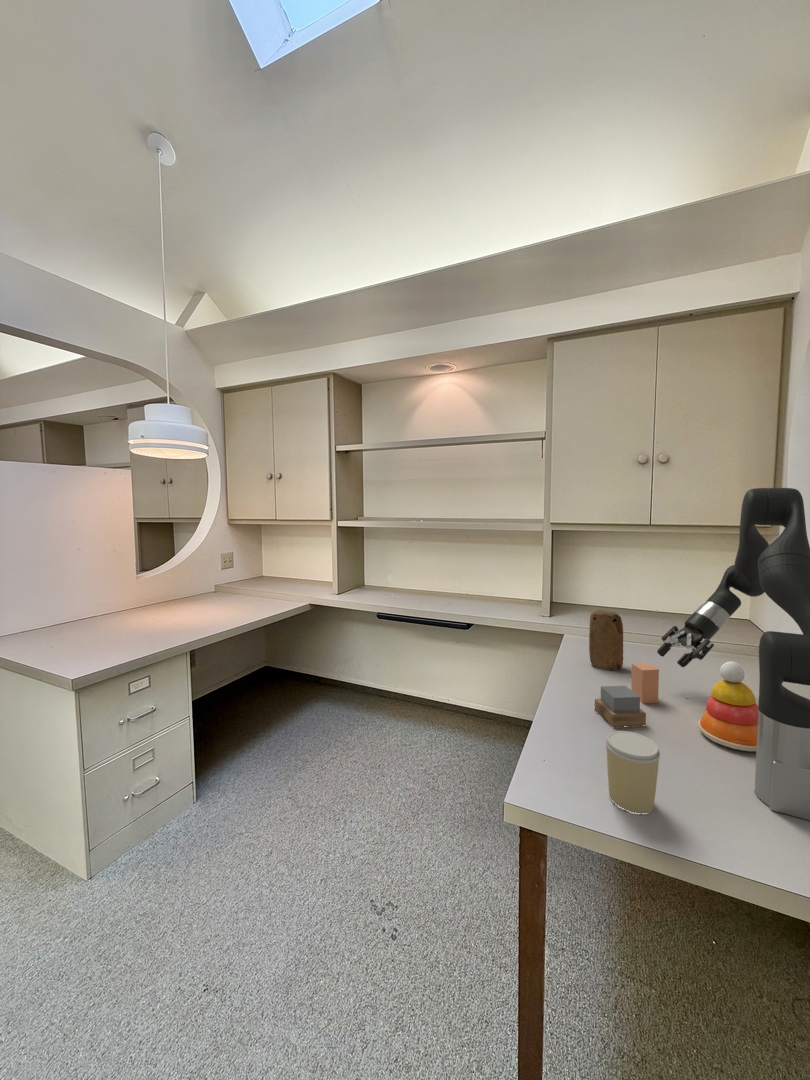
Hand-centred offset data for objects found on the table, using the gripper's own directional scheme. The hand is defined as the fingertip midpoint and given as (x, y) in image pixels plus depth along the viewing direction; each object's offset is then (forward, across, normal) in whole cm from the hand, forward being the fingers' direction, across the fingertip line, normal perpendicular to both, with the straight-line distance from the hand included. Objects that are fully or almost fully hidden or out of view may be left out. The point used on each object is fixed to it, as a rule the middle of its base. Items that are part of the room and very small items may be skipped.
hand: (669, 659), depth 123 cm
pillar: (+14, 0, +3) cm, 14 cm away
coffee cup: (+35, +40, -18) cm, 56 cm away
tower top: (+21, +10, -9) cm, 25 cm away
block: (+12, -25, +5) cm, 28 cm away
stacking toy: (+8, +22, +8) cm, 25 cm away
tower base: (+24, +10, -7) cm, 26 cm away
